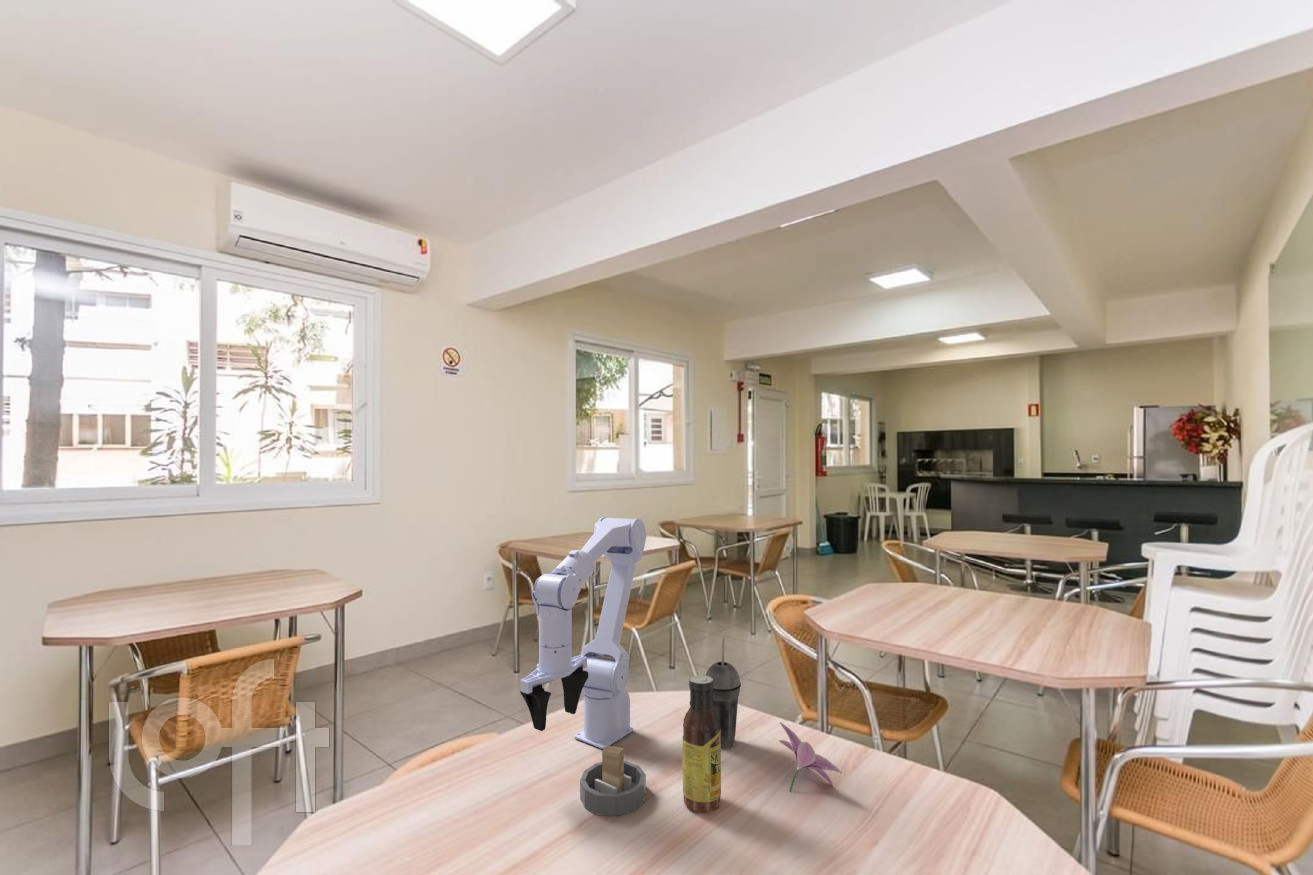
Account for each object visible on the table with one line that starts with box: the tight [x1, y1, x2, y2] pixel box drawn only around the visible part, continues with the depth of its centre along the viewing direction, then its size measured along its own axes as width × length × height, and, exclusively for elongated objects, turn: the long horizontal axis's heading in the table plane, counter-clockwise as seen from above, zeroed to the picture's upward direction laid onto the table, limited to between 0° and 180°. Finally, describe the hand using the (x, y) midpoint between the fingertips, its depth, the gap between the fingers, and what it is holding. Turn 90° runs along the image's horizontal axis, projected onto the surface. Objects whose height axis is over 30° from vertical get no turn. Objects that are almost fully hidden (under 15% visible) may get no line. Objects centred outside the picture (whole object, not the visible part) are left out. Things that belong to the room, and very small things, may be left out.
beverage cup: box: [705, 637, 742, 750], centre depth 115 cm, size 7×7×20 cm
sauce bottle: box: [682, 674, 722, 814], centre depth 95 cm, size 7×6×20 cm
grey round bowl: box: [579, 760, 647, 817], centre depth 97 cm, size 11×11×3 cm
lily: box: [778, 721, 843, 793], centre depth 100 cm, size 12×12×10 cm
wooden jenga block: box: [601, 745, 625, 793], centre depth 97 cm, size 2×3×7 cm, turn 70°
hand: (555, 720), depth 103 cm, fingers open, 7 cm apart
